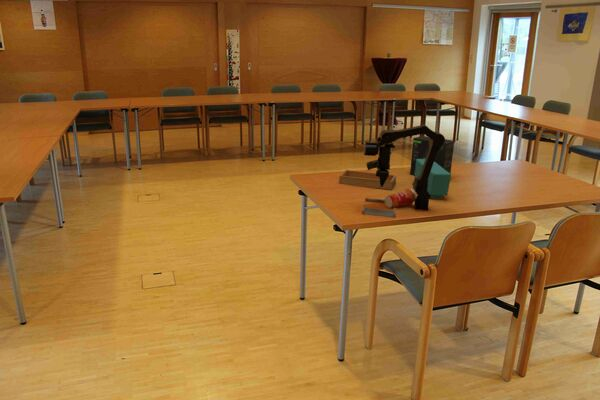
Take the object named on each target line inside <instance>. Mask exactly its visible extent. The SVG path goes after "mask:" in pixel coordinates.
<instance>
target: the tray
mask: <svg viewBox="0 0 600 400" xmlns="http://www.w3.org/2000/svg"><path fill="white" fill-rule="evenodd" d="M338 177H339V180H338V181H339V182H338V184H339V185H346V186H356V187H362V188H363V187H364V188H371V189H373V188H374V189H382V190H389V191H392V190H393V188H394V186H395V185H396V183H397V175H396V174H389V177H388V178H387V179H386V181H385V183H384V185H383V187H382V186H381V185H380V178H379V177H377V176H376V172H368V171H358V170H350V169H345V170H344V171H343V172H342V173H341V174H340V175H339V176H338Z"/></svg>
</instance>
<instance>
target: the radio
mask: <svg viewBox="0 0 600 400" xmlns="http://www.w3.org/2000/svg"><path fill="white" fill-rule="evenodd" d="M424 162H425V159H416V168H415V176H414V178H418V177H419V176H420V173H421V170H422V168H423V165H424ZM451 178H452V174H450V173H449V172H447V171H446V170H445V169H443V168H442V167H441V166H439V165H438V164H437V163H436V162H434V163H433V166H432V169H431V172H430V175H429V178H428V188H427V191H428V193H429V194H430V195H431V197H430V199H438V200H439V199H441V200H443V199H444V197H445V196H448V194H449V188H450V182H451Z"/></svg>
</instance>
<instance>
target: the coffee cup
mask: <svg viewBox="0 0 600 400" xmlns="http://www.w3.org/2000/svg"><path fill="white" fill-rule="evenodd" d="M416 196H417V194H416V192H415V191H414V189H413V188H406V189H405V190H401V191H399V192H396V193H393V194H390V195H389V194H388V195H387V196H385V198H384V200H385V203H384V204H385V206H386V207H387V208H389V209H390V208H396V207H400V206H404V205H413V203H415V198H416Z"/></svg>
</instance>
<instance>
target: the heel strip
mask: <svg viewBox="0 0 600 400" xmlns="http://www.w3.org/2000/svg"><path fill="white" fill-rule="evenodd" d="M364 202H367V203H368V202H369V203H378V204H385V199H380V198H369V197H365V201H364Z"/></svg>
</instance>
